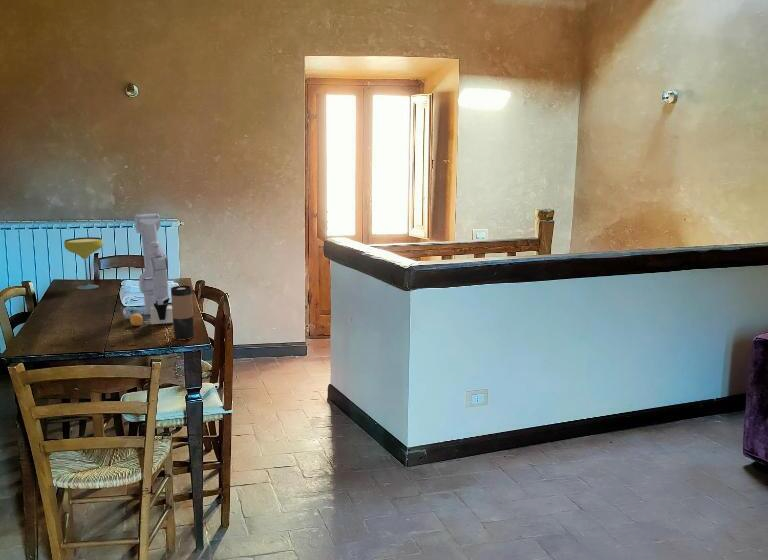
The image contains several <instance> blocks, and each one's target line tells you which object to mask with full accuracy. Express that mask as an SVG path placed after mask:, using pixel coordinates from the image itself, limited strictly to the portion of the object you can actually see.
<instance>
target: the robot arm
mask: <svg viewBox="0 0 768 560" xmlns="http://www.w3.org/2000/svg"><path fill="white" fill-rule="evenodd" d="M134 226H135V231H136V234H138V235H140V237H141V242H142V252H143V253H142V255H143V262H144V271H143V272H142V273H140V275H139V277H138V279H139V282H138V286H139V290H140V293H141V294H143V300H144V312H143V315H144V316H146V315H151V314H150V309H151V307H155V308H156V310H157V313H158V316H159V319H160V320H165V317H166V309H167V306H169V301H170V300H171V299H170V295H169V287H168V285H169V284H168V270H169V269H168V268H169V262H168V257H167V256H166V254H165V253H164V250H163V249H164V248H163V246H162V243H161V242H159V241H158V240H159V239H158V231H159V229H160V227H161V216H160V215H159V213H158V212H155V213H144V214H135V215H134Z"/></svg>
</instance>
